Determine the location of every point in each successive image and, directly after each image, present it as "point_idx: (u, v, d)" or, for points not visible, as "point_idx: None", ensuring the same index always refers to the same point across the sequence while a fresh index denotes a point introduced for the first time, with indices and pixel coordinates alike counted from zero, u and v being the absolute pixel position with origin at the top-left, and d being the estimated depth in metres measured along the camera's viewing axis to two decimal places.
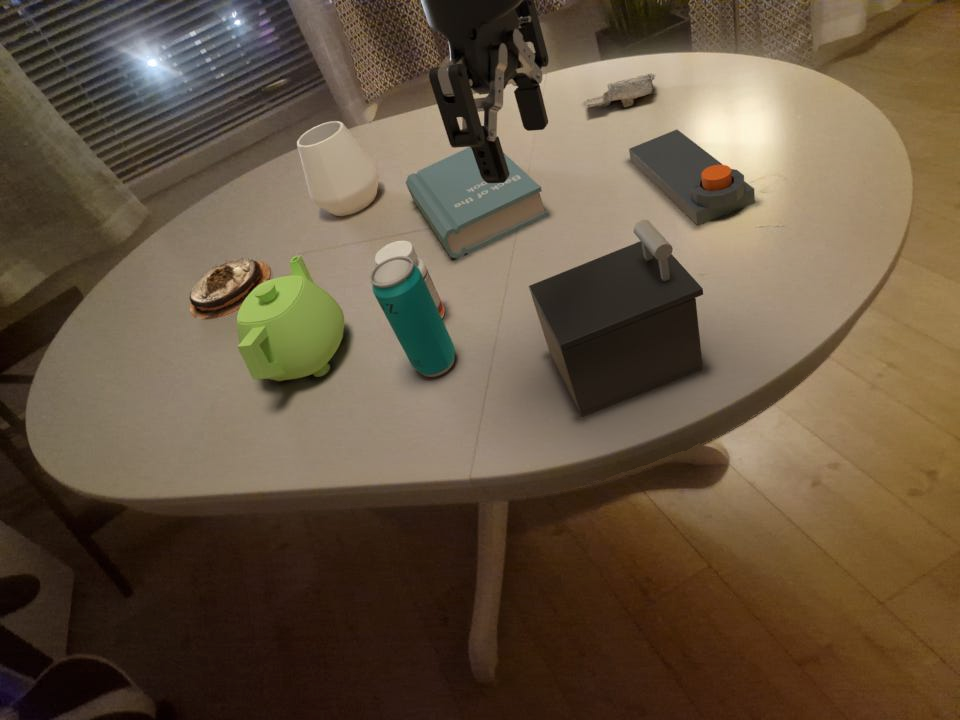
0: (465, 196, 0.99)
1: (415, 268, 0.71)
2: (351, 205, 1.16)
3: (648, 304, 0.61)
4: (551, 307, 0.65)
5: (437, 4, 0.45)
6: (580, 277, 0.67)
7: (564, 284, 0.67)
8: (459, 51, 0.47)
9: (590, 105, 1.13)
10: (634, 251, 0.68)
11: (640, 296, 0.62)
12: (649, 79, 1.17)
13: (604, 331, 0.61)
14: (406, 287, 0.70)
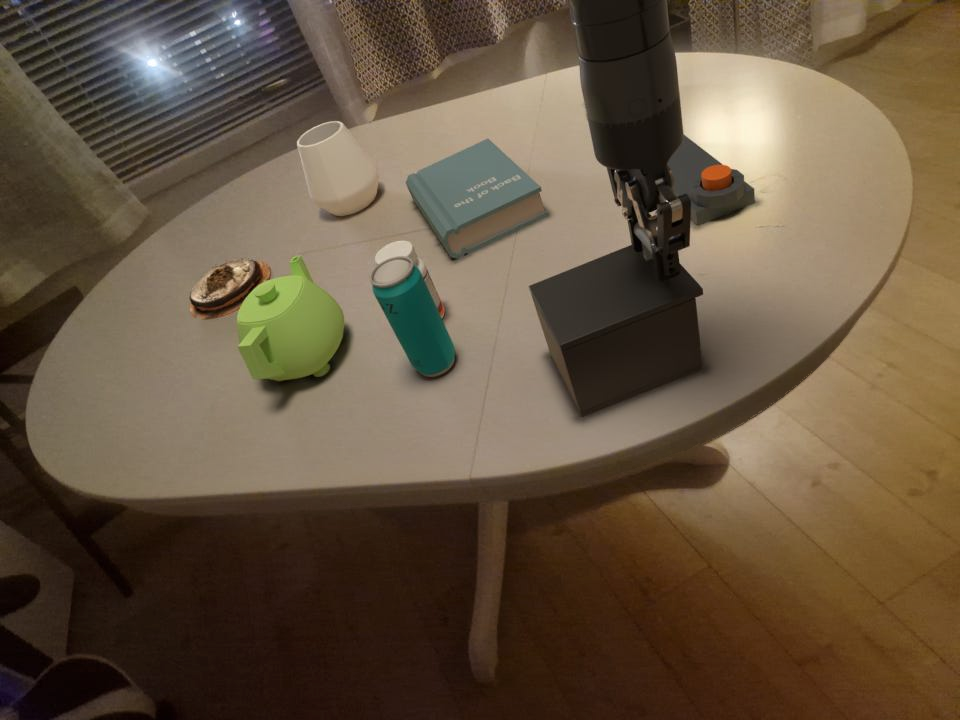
0: (465, 196, 0.99)
1: (415, 268, 0.71)
2: (351, 205, 1.16)
3: (648, 304, 0.61)
4: (551, 307, 0.65)
5: (645, 145, 0.52)
6: (580, 277, 0.67)
7: (564, 284, 0.67)
8: (657, 178, 0.54)
9: None
10: (634, 251, 0.68)
11: (640, 296, 0.62)
12: None
13: (604, 331, 0.61)
14: (406, 287, 0.70)
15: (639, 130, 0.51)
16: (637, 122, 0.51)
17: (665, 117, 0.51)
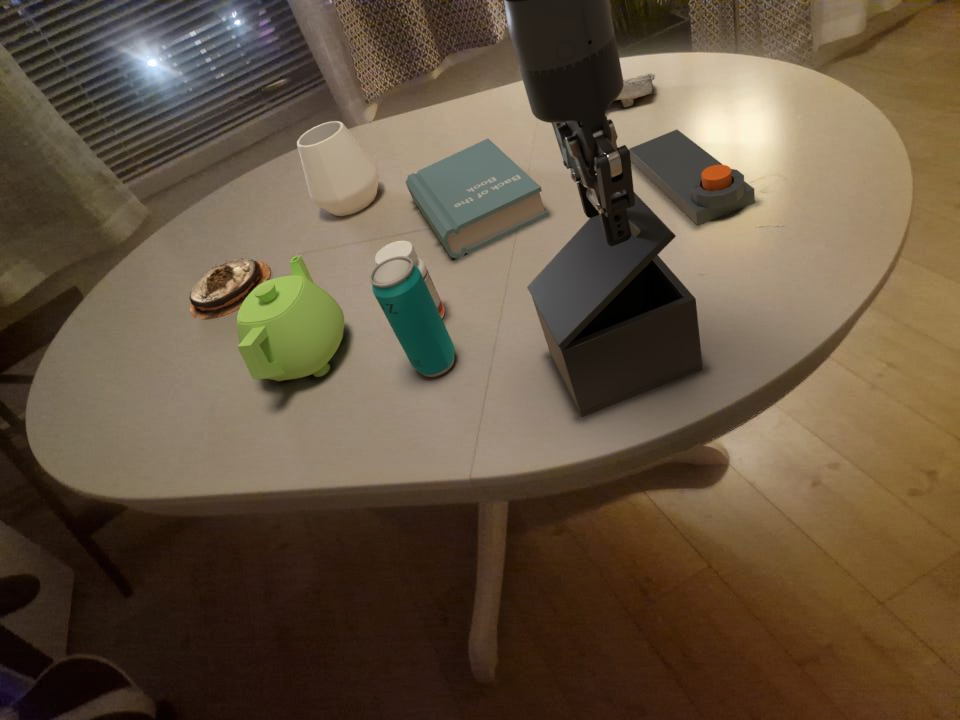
0: (465, 196, 0.99)
1: (415, 268, 0.71)
2: (351, 205, 1.16)
3: (625, 271, 0.58)
4: (546, 305, 0.65)
5: (578, 93, 0.48)
6: (566, 260, 0.66)
7: (554, 274, 0.66)
8: (595, 131, 0.50)
9: None
10: None
11: (617, 263, 0.59)
12: (649, 79, 1.17)
13: (593, 316, 0.60)
14: (406, 287, 0.70)
15: (570, 76, 0.47)
16: (567, 67, 0.47)
17: (598, 61, 0.47)
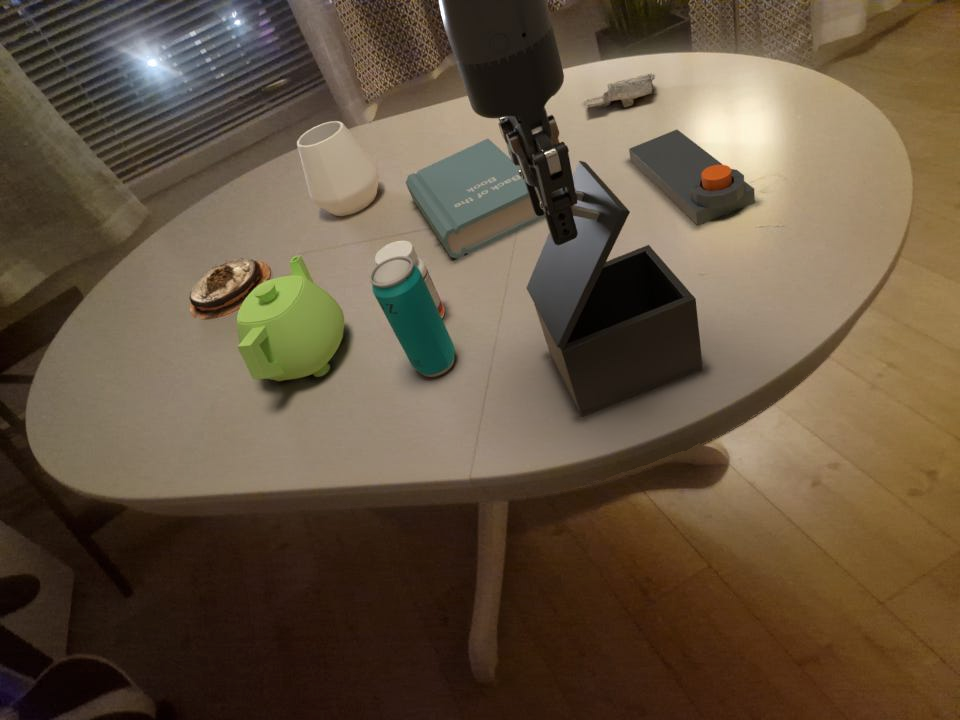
0: (465, 196, 0.99)
1: (415, 268, 0.71)
2: (351, 205, 1.16)
3: (594, 259, 0.57)
4: (542, 305, 0.65)
5: (514, 87, 0.47)
6: (549, 255, 0.65)
7: (543, 271, 0.66)
8: (534, 127, 0.49)
9: (590, 105, 1.13)
10: None
11: (587, 252, 0.58)
12: (649, 79, 1.17)
13: (579, 310, 0.59)
14: (406, 287, 0.70)
15: (505, 70, 0.46)
16: (501, 61, 0.45)
17: (533, 55, 0.46)
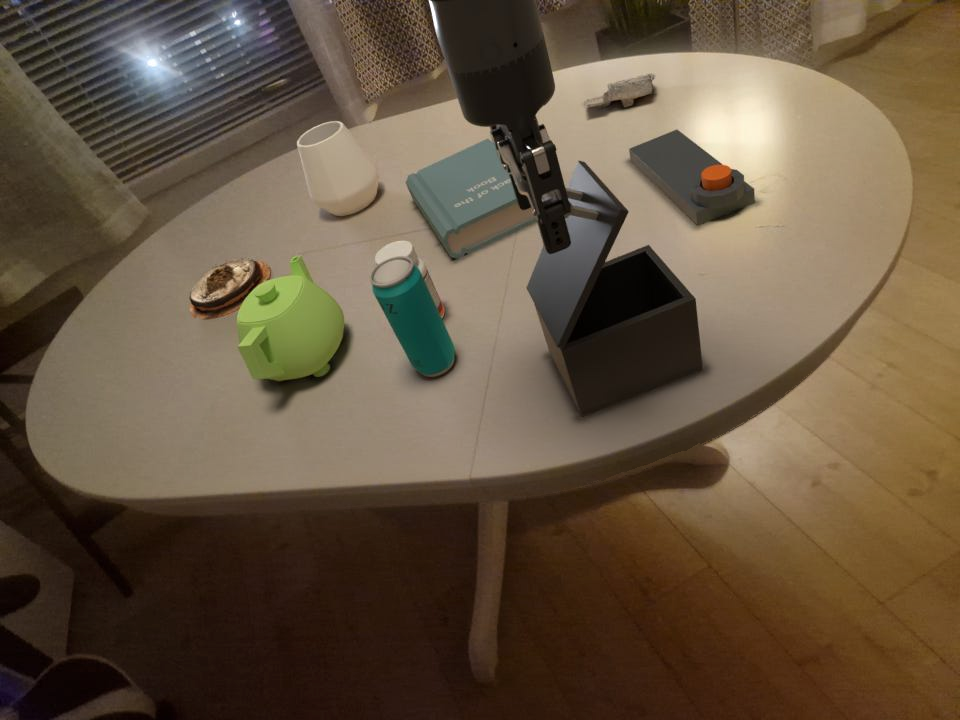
0: (465, 196, 0.99)
1: (415, 268, 0.71)
2: (351, 205, 1.16)
3: (593, 259, 0.57)
4: (542, 305, 0.65)
5: (505, 96, 0.47)
6: (549, 255, 0.65)
7: (543, 271, 0.66)
8: (524, 136, 0.49)
9: (590, 105, 1.13)
10: None
11: (586, 252, 0.58)
12: (649, 79, 1.17)
13: (579, 310, 0.59)
14: (406, 287, 0.70)
15: (496, 79, 0.46)
16: (492, 70, 0.46)
17: (525, 65, 0.46)
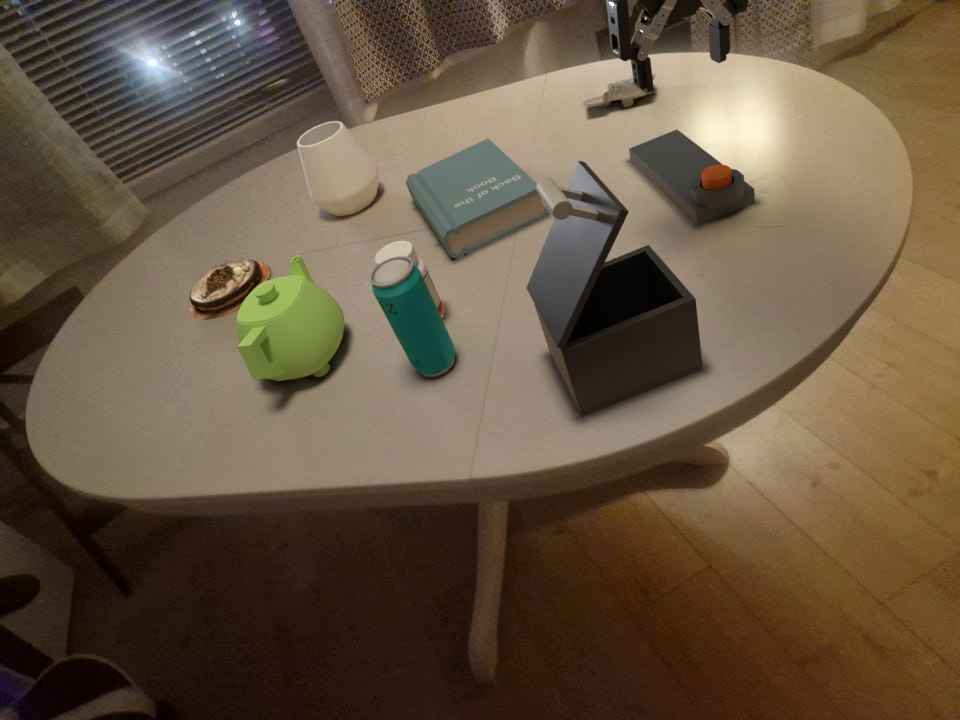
0: (465, 196, 0.99)
1: (415, 268, 0.71)
2: (351, 205, 1.16)
3: (593, 259, 0.57)
4: (542, 305, 0.65)
5: None
6: (549, 255, 0.65)
7: (543, 271, 0.66)
8: None
9: (590, 105, 1.13)
10: None
11: (586, 252, 0.58)
12: None
13: (579, 310, 0.59)
14: (406, 287, 0.70)
15: None
16: None
17: None
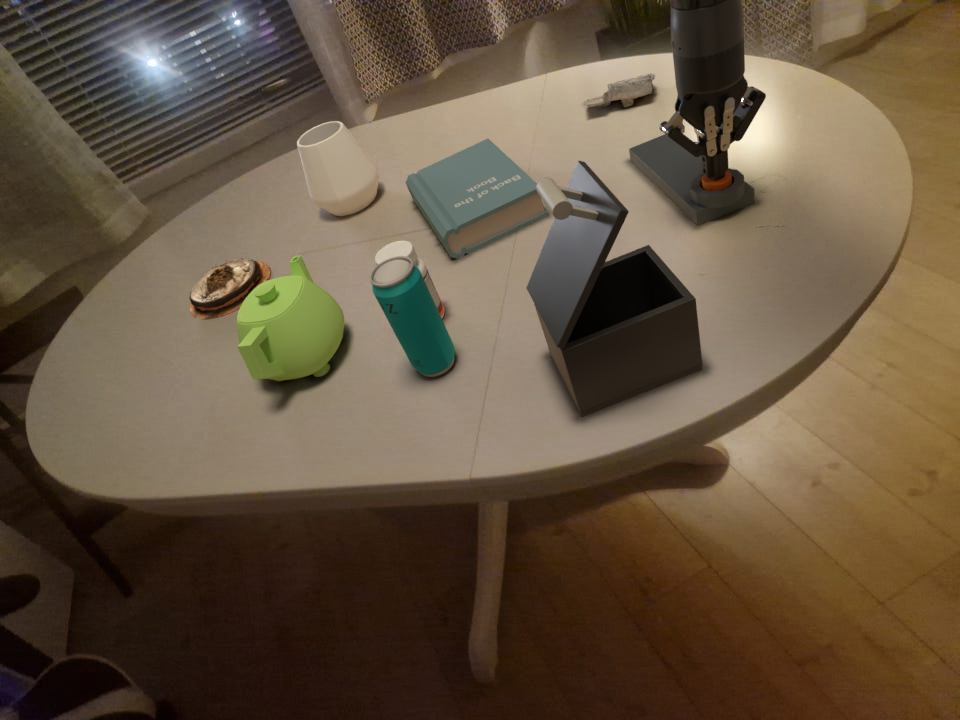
0: (465, 196, 0.99)
1: (415, 268, 0.71)
2: (351, 205, 1.16)
3: (593, 259, 0.57)
4: (542, 305, 0.65)
5: (675, 72, 0.74)
6: (549, 255, 0.65)
7: (543, 271, 0.66)
8: (680, 101, 0.76)
9: (590, 105, 1.13)
10: None
11: (586, 252, 0.58)
12: (649, 79, 1.17)
13: (579, 310, 0.59)
14: (406, 287, 0.70)
15: (673, 59, 0.73)
16: (673, 53, 0.73)
17: (683, 63, 0.72)
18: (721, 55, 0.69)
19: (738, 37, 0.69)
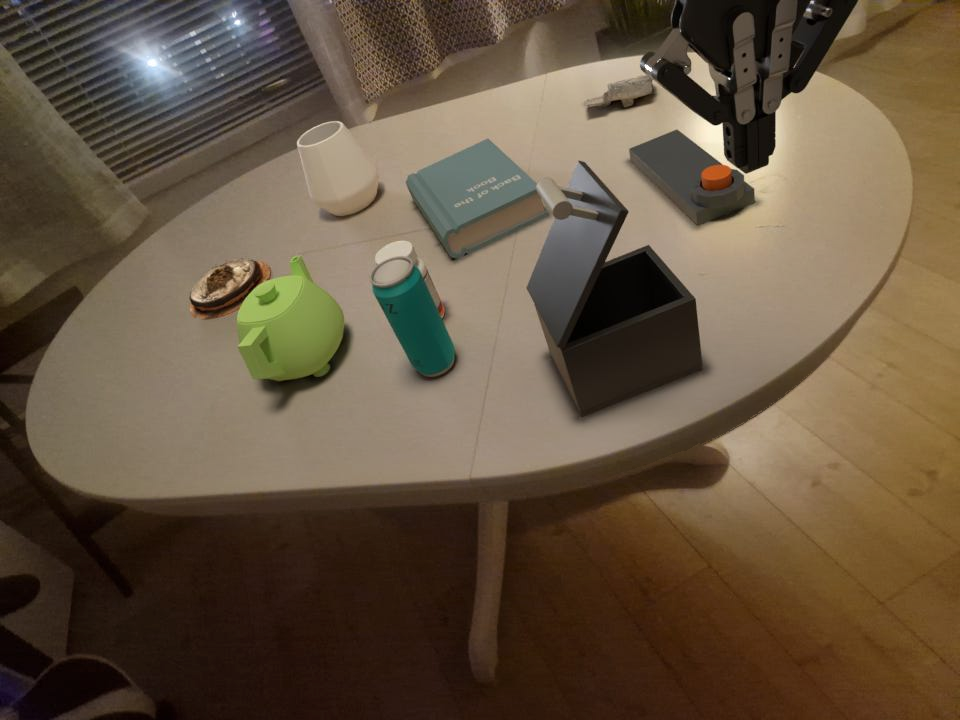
0: (465, 196, 0.99)
1: (415, 268, 0.71)
2: (351, 205, 1.16)
3: (593, 259, 0.57)
4: (542, 305, 0.65)
5: None
6: (549, 255, 0.65)
7: (543, 271, 0.66)
8: (682, 7, 0.36)
9: (590, 105, 1.13)
10: None
11: (586, 252, 0.58)
12: (649, 79, 1.17)
13: (579, 310, 0.59)
14: (406, 287, 0.70)
15: None
16: None
17: None
18: None
19: None
